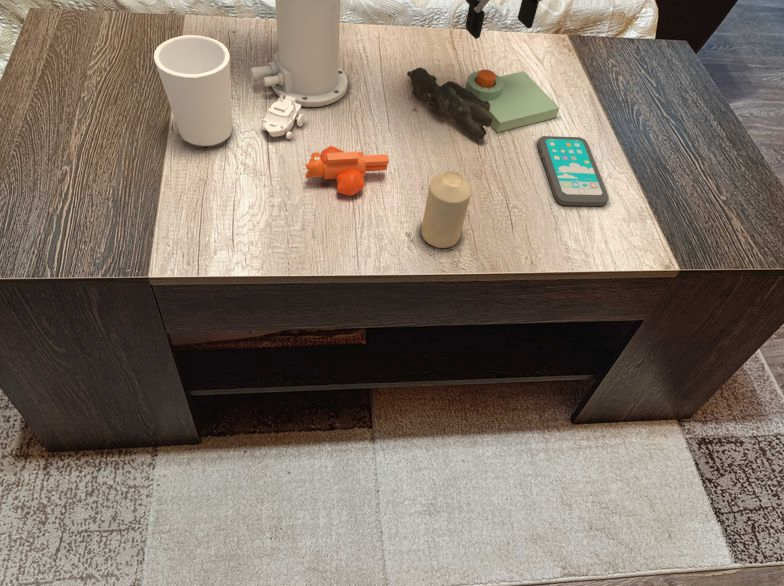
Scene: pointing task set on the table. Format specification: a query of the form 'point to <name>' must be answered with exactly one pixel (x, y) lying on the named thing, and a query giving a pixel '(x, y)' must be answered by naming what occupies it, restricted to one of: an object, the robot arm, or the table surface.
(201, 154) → the table surface
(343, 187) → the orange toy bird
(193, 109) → the cup
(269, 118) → the toy car
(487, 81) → the button
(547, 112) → the scale
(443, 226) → the candle
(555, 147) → the smartphone
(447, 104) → the statue
